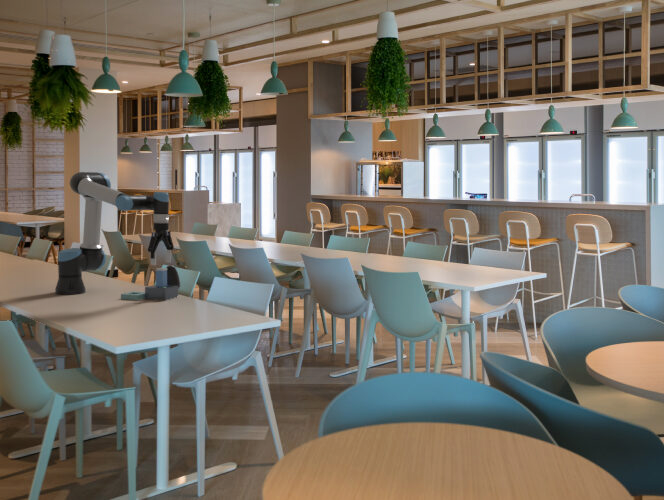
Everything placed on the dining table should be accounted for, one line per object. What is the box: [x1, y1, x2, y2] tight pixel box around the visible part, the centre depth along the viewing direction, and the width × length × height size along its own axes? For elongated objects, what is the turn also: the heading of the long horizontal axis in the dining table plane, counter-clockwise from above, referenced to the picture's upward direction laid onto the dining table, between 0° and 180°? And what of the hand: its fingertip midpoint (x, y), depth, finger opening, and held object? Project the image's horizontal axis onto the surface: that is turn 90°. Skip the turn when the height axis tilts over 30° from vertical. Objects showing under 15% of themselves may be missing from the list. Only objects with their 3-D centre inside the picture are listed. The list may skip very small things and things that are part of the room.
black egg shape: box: [165, 265, 181, 292], centre depth 372 cm, size 10×10×15 cm
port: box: [144, 284, 179, 301], centre depth 357 cm, size 12×12×6 cm
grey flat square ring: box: [120, 291, 145, 301], centre depth 355 cm, size 10×10×2 cm
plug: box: [155, 267, 167, 287], centre depth 356 cm, size 4×4×14 cm
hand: (160, 263), depth 356 cm, fingers open, 13 cm apart
